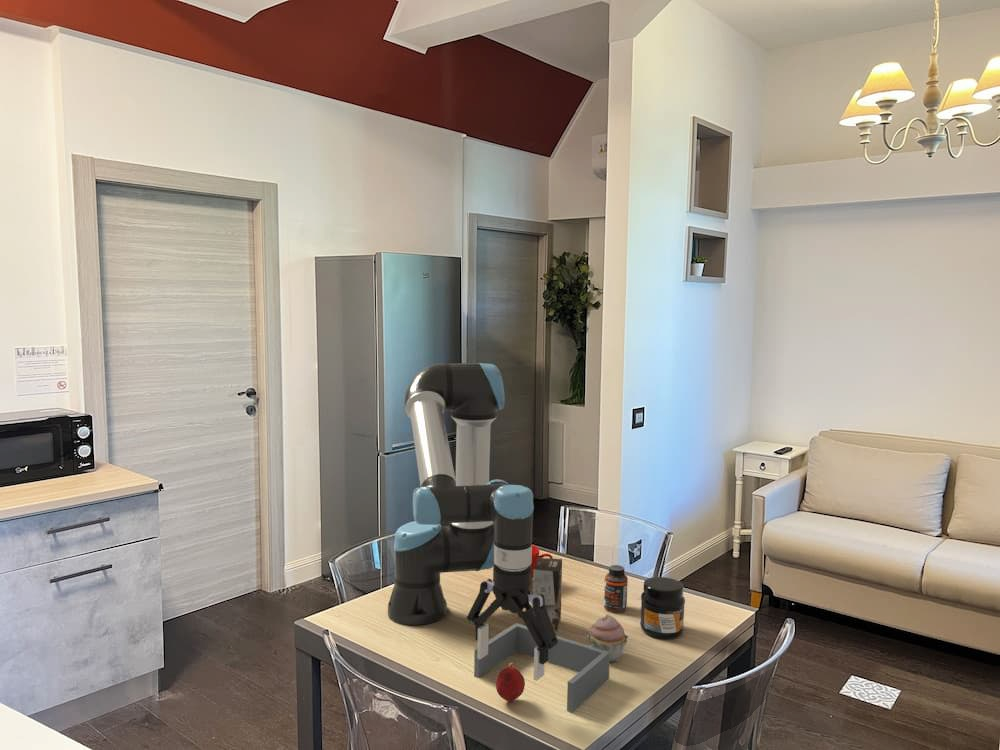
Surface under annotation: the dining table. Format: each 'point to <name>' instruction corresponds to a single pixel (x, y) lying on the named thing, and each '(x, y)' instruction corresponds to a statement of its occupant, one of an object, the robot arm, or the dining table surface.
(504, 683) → the onion
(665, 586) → the supplement container
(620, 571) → the supplement bottle
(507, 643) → the open u-shaped frame
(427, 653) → the dining table surface
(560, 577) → the coffee box
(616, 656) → the cupcake
